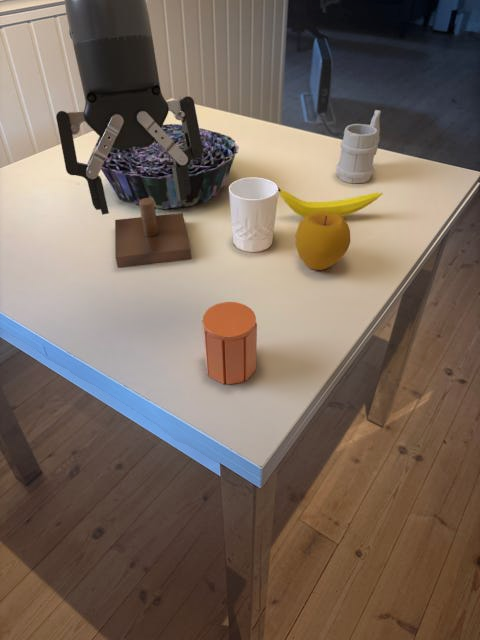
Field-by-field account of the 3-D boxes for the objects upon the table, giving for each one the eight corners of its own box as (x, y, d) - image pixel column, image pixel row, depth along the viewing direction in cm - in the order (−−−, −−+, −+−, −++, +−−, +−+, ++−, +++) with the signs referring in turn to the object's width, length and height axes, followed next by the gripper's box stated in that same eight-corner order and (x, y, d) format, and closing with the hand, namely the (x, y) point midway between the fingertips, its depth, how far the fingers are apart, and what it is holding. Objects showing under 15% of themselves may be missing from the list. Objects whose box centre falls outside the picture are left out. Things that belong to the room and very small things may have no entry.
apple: (334, 287, 74) (342, 237, 68) (284, 271, 77) (287, 222, 72) (353, 259, 80) (361, 210, 74) (305, 245, 83) (310, 198, 77)
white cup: (280, 233, 86) (282, 180, 79) (270, 257, 80) (272, 202, 74) (237, 227, 88) (236, 174, 81) (224, 250, 82) (222, 196, 75)
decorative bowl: (144, 161, 114) (135, 118, 107) (256, 169, 105) (254, 121, 99) (83, 213, 95) (67, 164, 89) (212, 227, 87) (205, 174, 81)
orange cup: (210, 387, 59) (206, 340, 54) (203, 352, 64) (199, 305, 59) (259, 379, 60) (261, 332, 55) (249, 345, 65) (249, 298, 60)
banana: (379, 221, 89) (386, 189, 85) (275, 223, 89) (277, 191, 84) (375, 213, 91) (382, 181, 87) (274, 215, 91) (275, 183, 86)
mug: (328, 177, 103) (335, 119, 95) (357, 159, 109) (366, 103, 101) (360, 187, 99) (370, 128, 91) (388, 168, 106) (399, 111, 98)
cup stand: (117, 267, 79) (108, 223, 73) (117, 229, 87) (108, 188, 82) (191, 258, 80) (187, 215, 75) (183, 222, 89) (179, 181, 84)
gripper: (32, 39, 42) (79, 225, 49) (193, 26, 45) (215, 201, 52) (36, 48, 48) (77, 211, 55) (176, 36, 52) (198, 191, 59)
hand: (144, 206), depth 54 cm, fingers open, 8 cm apart
